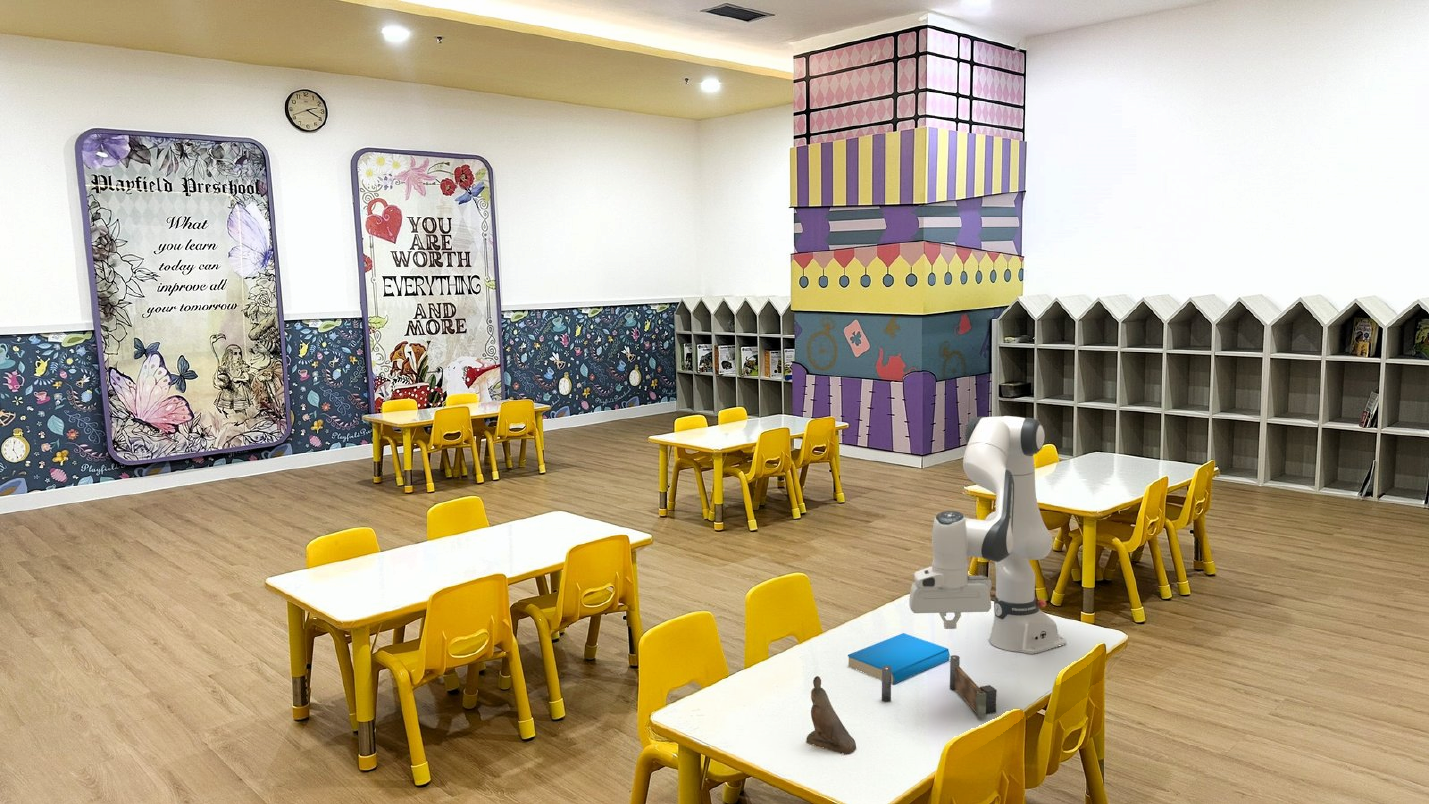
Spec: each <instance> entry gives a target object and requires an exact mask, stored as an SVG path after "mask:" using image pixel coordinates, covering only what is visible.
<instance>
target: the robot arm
mask: <svg viewBox="0 0 1429 804" xmlns="http://www.w3.org/2000/svg"><path fill="white" fill-rule="evenodd" d="M964 431H965V432H964V437H965V438H964V441H965V444H966V448H965V450H964V454H963V460H962V467H963V471H964V474H965V475H966V476H967V477H968V479H969V480H970V481H971V482H972V483H974V484H976V485H977V486H979V487H980V488H983V489H985V490H988V491H989V492H991V493H993V494H994V495H996V496H995V497H996V499H995V511H992V512H991V513H989V514H988V515H987V516H986V517H985V518H984V519H975V518H970V517H969V518H968V517H965V515H964V514H963V513H962V512H960V511H956V510H945V511H940V512H939V513H937V514H936V515H935V517H934V520H933V526H932V533H931V534H932V535H931V551H932V553H933V559H932V561H931V566H928V567H926V568H922V569H919V570H917V571H915V572H914V573H913V578H914V579H913V580H914V582H913V583H912V584H911V587H910V592H909V603H908V604H909V608H910V610H911V612H912V613H913V614H938V615H940V618H941V619H942V621H943V628H944V629H945V630H950V629H951V630H956V629H957V623H958V622H959V620H960V619H961V616H962V613H988V612H990V610H991V609H992V599H991V593H990V591H991V589H992V580H991V578H990V577H988V576H986V575H985V574H979V575H975V574H973V575H972V574H971V575H969V563H968V560H967V559H968V558H967V557H970V558H971V557H972V558H978V559H980V558H981V559H985V560H988V561H993V562H994V567H995V595H994V599H993V613H994V617H993V623H992V629H991V633H990V636H989V638H988V641H989V643H990V644H991V645H993V646H994V647H997V648H998V649H1001V650H1006V651H1010V652H1018V653H1019V652H1020V653H1023V654H1027V655H1034V653H1035V654H1038V653H1042V652H1044V651H1048V649H1049V650H1052V649H1051V648H1053V649H1055V648H1054V647H1056V648H1058V647H1057V646H1059V645H1063V646H1065V645H1064V644H1066V645H1067V641H1066V639H1065V637H1063V636H1062V635H1061V634H1059V632H1058V631H1059V630H1058V626H1057V623H1056V622H1055V620H1054V619H1052V617H1050V616H1049V615H1047V614H1046V613H1045V612H1043V611H1042V610H1041V609H1040V607H1041V608H1045V607H1046V606H1047V601H1046V600H1043V599H1042V598H1040V599H1038V598H1037V597H1035V595H1036V594H1035V593H1036V591H1035V588H1036V574H1035V573H1036V572H1035V571H1034V568H1033V566H1032V565H1031V562H1030V560H1032V561H1033V560H1034V561H1036V560H1037V561H1039V560H1043V559H1045V558H1046V557H1048V555H1049V554H1050V553H1051V551H1052V549H1053V543H1054V540H1053V536H1052V534H1051V532H1050V531H1049V529H1048V528H1047V526H1046V524H1045V523H1044V520H1043V517H1042V514H1041V510H1040V508H1039V504H1038V499H1037V493H1036V469H1035V458H1034V455H1037V454H1038V453H1039V452H1040V451H1041V450H1042V448H1043V447H1044V442H1045V437H1046V436H1045V429H1044V425H1043V424H1042V422H1041V421H1040V420H1038V419H1035V418H1033V417H1021V416H1014V415H1013V416H1010V415H1004V416H987V417H986V416H977V417H972V419H971V420H969V421H968V423H967V424H966V427H965V430H964ZM949 613H953V614H954V617H953V618H952V619H946V617H947V614H949ZM1037 652H1038V653H1037Z"/></svg>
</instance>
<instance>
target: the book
mask: <svg viewBox="0 0 1429 804" xmlns="http://www.w3.org/2000/svg"><path fill="white" fill-rule="evenodd" d="M950 656H951V654H950V650H949V648H948V647H944V646H942V645H939V644H937V643H934V642H930V641H927V640H925V639H922V638H919V637H916V636H913V635H911V634H908V633H900V634H897V635H896V636H892V637H890V638H886V639H885V640H882V641H879V642H877V643H874V644H871V645H870V646H867V647H864V648H862V649H859V650H857V651H855V652H852V653H850V654H847V657H848V668H850V667H851V669H853V670H855V669H857V670H856V671H858V670H859V671H858V672H860V671H862V672H861V673H863V672H864V673H863V674H865V673H866V674H865V675H868V676H871V677H873V678H875V677H876V679H878V680H880V679H881V681H882V666H890V667H891V685H895V684H897V683H900V682H902V681H904V679H905V680H907V679H909V678H911V677H913V676H915V675H918V674H920V673H922V672H925V671H927V670H929V669H931V668H934V667H936V666H938V665H941V664H943V663H945V662H947V661H948V662H949V660H950Z"/></svg>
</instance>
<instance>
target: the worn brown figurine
mask: <svg viewBox="0 0 1429 804" xmlns="http://www.w3.org/2000/svg"><path fill="white" fill-rule="evenodd" d="M812 685H813V688H812V689H811V691H810V694H811V695H810V700H811V702H812V705H811V709H810V716H811V721H812V724H813V728H814V730H813V731H811V732H810V733H809V734H808V735H806V738H805V739H806V742H805V743H807V744H809V743H810V744H809V745H812V744H814V745H813V746H815V745H816V747H820V748H822V747H824V748H823V749H825V748H827V749H826V750H829V751H832V752H836V753H839V754H842V753H844V754H843V755H850V754H852V753H854V752H855V751H856V750H857V743H856V740H855V739H854V738H853V736H851V734H850V733H849V732H848V731H847V728H846V727H845V726H844V724H843V722H842V721H841V719H840V718H839V716H838V714H837V713H836V711H835V709H834V708H833V705H832V703H831V702H830V698H829V696H828V693H827V692H826V690H825V689H824V688H822V687H821V686H822V678H821V677H820V676H819V675H818V676H817V675H816V676H815V677H814V678H813V681H812Z"/></svg>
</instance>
